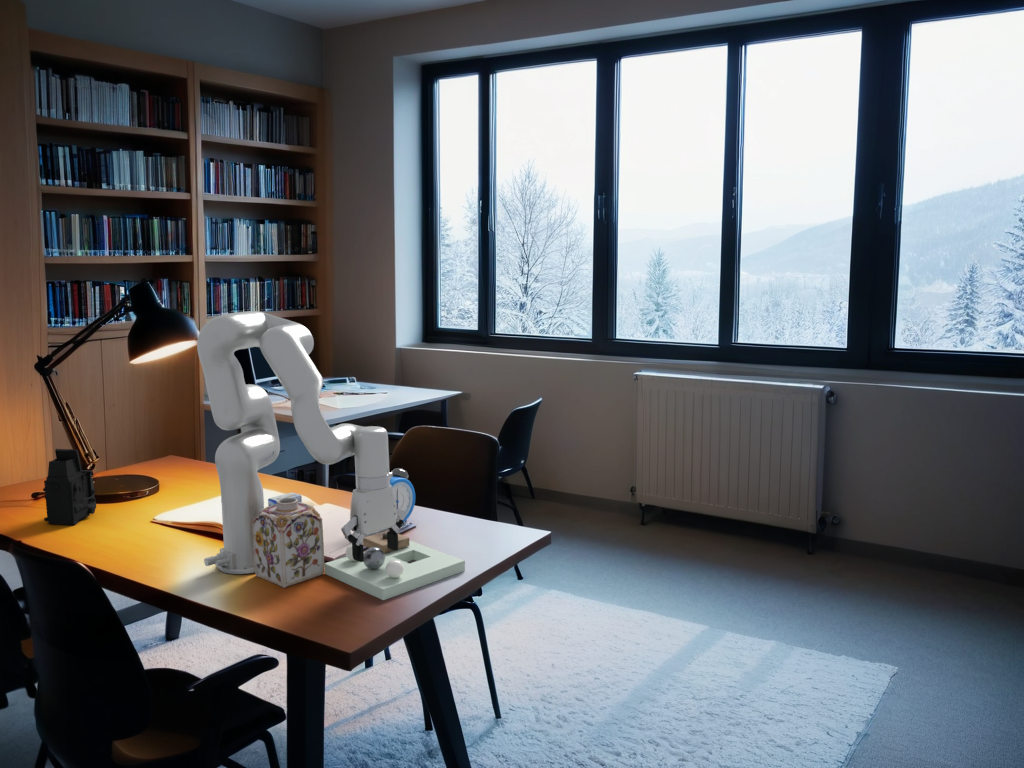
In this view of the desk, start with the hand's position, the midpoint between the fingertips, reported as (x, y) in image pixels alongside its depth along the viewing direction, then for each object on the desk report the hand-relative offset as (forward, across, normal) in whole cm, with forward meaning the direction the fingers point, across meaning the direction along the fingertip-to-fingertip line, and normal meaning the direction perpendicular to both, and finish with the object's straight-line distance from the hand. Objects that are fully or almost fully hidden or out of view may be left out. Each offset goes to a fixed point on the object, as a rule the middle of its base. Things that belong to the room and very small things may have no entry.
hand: (376, 554), depth 196 cm
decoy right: (+2, 0, +7) cm, 7 cm away
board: (+6, -6, -1) cm, 8 cm away
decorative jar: (+6, +12, -17) cm, 22 cm away
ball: (+1, 0, 0) cm, 1 cm away
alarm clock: (+6, -28, -30) cm, 41 cm away
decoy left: (+1, 0, -8) cm, 8 cm away
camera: (+4, +31, -96) cm, 102 cm away
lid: (+3, -11, -10) cm, 15 cm away
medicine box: (+5, -6, -48) cm, 48 cm away
